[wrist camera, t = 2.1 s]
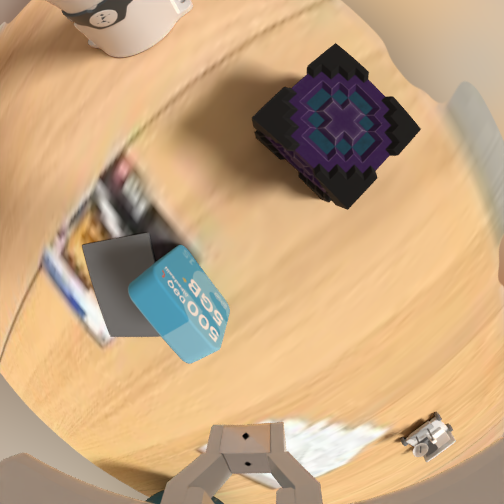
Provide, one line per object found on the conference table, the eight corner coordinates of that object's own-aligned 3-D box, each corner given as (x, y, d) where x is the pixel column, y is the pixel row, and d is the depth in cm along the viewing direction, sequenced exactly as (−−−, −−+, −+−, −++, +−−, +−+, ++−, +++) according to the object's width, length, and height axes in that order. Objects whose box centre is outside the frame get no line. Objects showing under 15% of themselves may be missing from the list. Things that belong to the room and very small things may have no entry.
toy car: (406, 462, 39) (447, 433, 37) (394, 434, 49) (432, 406, 46) (428, 471, 42) (462, 446, 39) (418, 448, 51) (450, 424, 49)
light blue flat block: (231, 307, 40) (219, 355, 28) (208, 321, 41) (189, 369, 29) (182, 241, 38) (149, 268, 26) (160, 258, 39) (122, 289, 27)
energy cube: (315, 80, 31) (335, 43, 19) (377, 141, 33) (420, 129, 21) (255, 137, 34) (251, 117, 22) (321, 199, 35) (347, 209, 24)
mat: (83, 244, 39) (82, 245, 38) (148, 232, 38) (147, 232, 37) (111, 335, 43) (110, 336, 42) (175, 334, 42) (174, 336, 41)
